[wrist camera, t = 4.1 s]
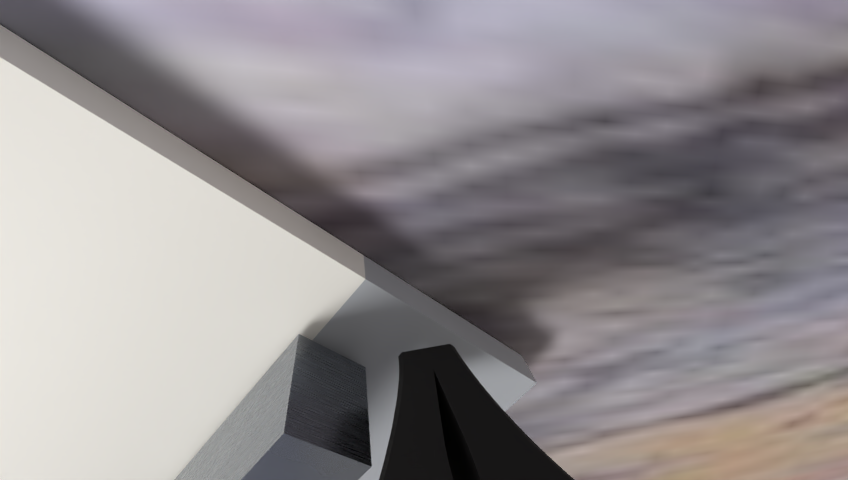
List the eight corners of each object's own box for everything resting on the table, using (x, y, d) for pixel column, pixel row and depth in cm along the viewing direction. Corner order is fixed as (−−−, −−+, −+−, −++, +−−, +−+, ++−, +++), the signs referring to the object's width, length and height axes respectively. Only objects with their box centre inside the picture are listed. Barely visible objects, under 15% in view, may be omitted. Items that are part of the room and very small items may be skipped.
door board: (521, 355, 14) (583, 468, 10) (270, 591, 17) (251, 735, 14) (-246, -132, 6) (-1002, -342, 3) (-405, 458, 10) (-819, 694, 6)
